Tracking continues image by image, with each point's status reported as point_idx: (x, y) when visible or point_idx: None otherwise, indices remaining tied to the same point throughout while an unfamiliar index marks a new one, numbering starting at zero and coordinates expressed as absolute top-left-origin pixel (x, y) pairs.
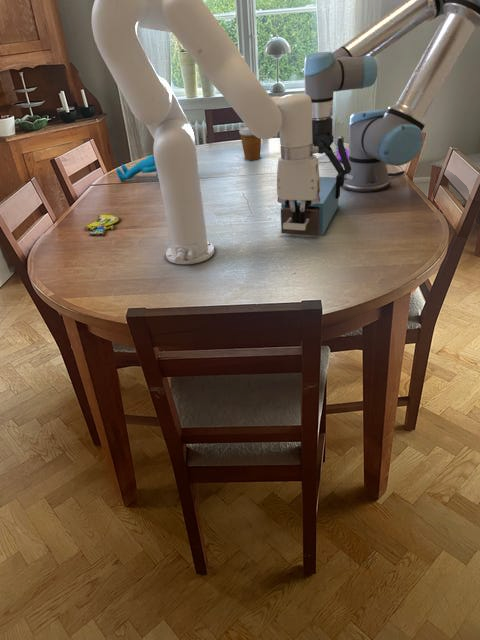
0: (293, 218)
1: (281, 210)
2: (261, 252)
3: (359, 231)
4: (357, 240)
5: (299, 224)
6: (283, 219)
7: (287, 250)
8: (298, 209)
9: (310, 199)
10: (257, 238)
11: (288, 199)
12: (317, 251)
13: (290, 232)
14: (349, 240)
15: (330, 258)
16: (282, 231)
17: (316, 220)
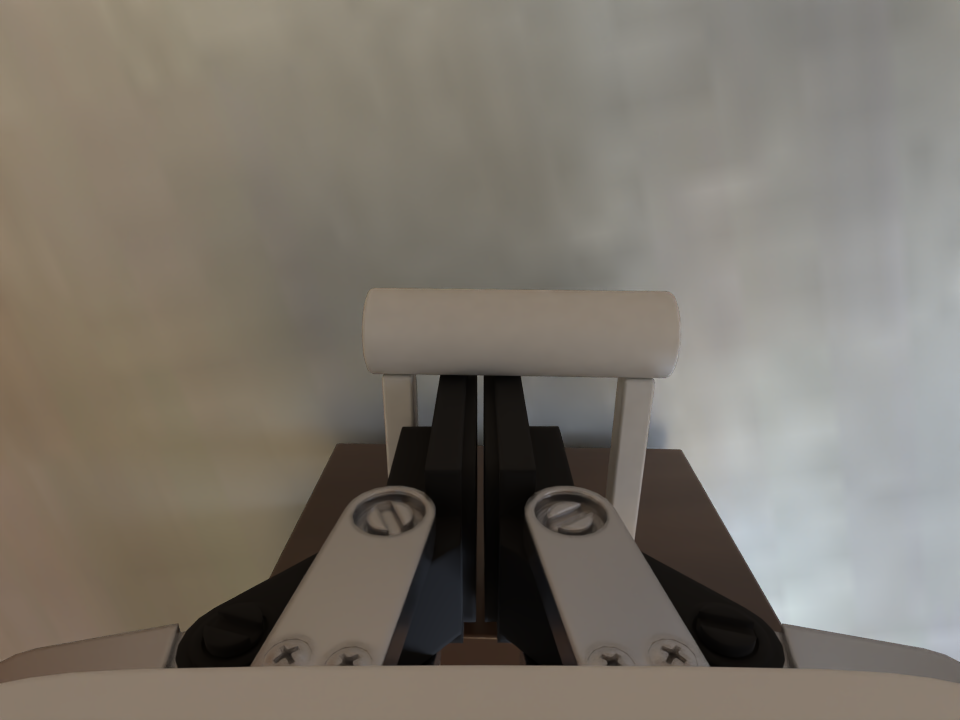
0: (554, 447)
1: (771, 627)
2: (825, 39)
3: (95, 594)
4: (36, 453)
5: (439, 332)
6: (702, 539)
7: (555, 147)
8: (498, 589)
9: (38, 678)
10: (895, 363)
11: (729, 667)
12: (264, 181)
13: (595, 454)
14: (94, 444)
15: (83, 39)
16: (675, 458)
17: (310, 540)
